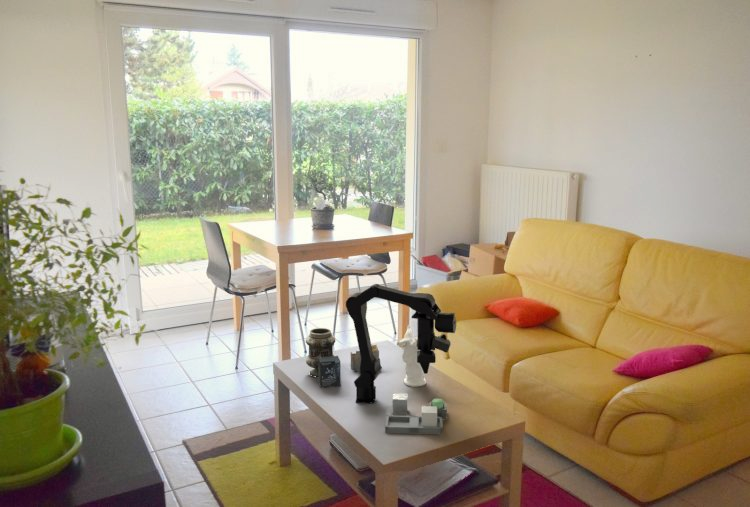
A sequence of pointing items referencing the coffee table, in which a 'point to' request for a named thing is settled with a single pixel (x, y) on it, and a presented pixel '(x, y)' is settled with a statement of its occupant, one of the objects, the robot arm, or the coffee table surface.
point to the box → (329, 371)
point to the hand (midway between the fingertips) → (425, 373)
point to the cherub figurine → (411, 360)
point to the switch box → (441, 411)
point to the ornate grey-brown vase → (319, 347)
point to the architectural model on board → (357, 357)
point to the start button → (437, 403)
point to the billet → (400, 404)
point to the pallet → (416, 422)
